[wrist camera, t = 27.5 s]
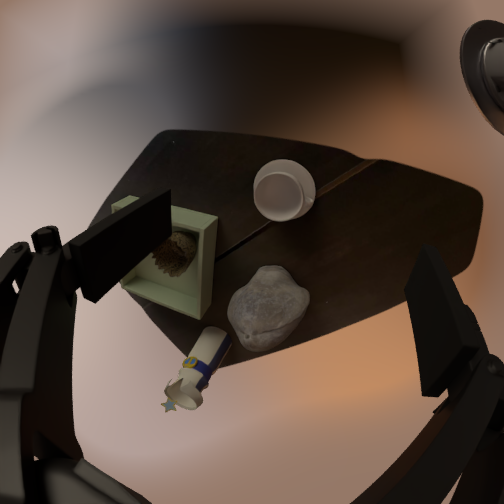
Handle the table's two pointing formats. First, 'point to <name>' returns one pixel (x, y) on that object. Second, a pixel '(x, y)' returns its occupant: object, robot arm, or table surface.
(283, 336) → the decorative stone
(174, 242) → the dark brown hollow vessel
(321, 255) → the table surface
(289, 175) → the teacup
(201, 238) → the bin
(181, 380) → the white blue vase
